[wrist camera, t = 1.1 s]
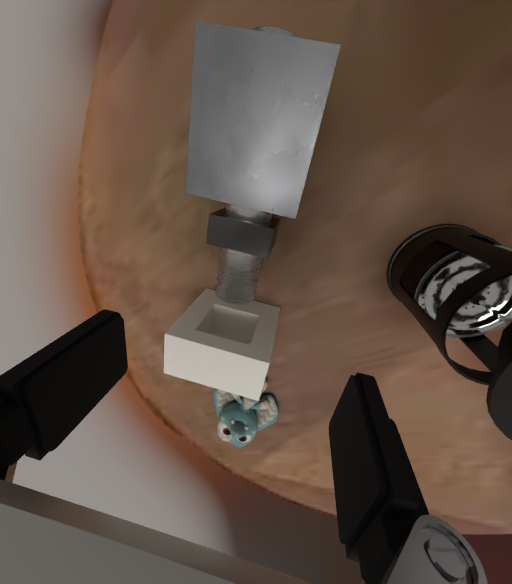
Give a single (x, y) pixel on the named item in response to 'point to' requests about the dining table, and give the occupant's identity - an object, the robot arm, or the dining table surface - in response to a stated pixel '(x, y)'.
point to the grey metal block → (255, 115)
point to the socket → (222, 344)
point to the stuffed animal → (243, 415)
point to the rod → (242, 240)
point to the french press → (464, 304)
